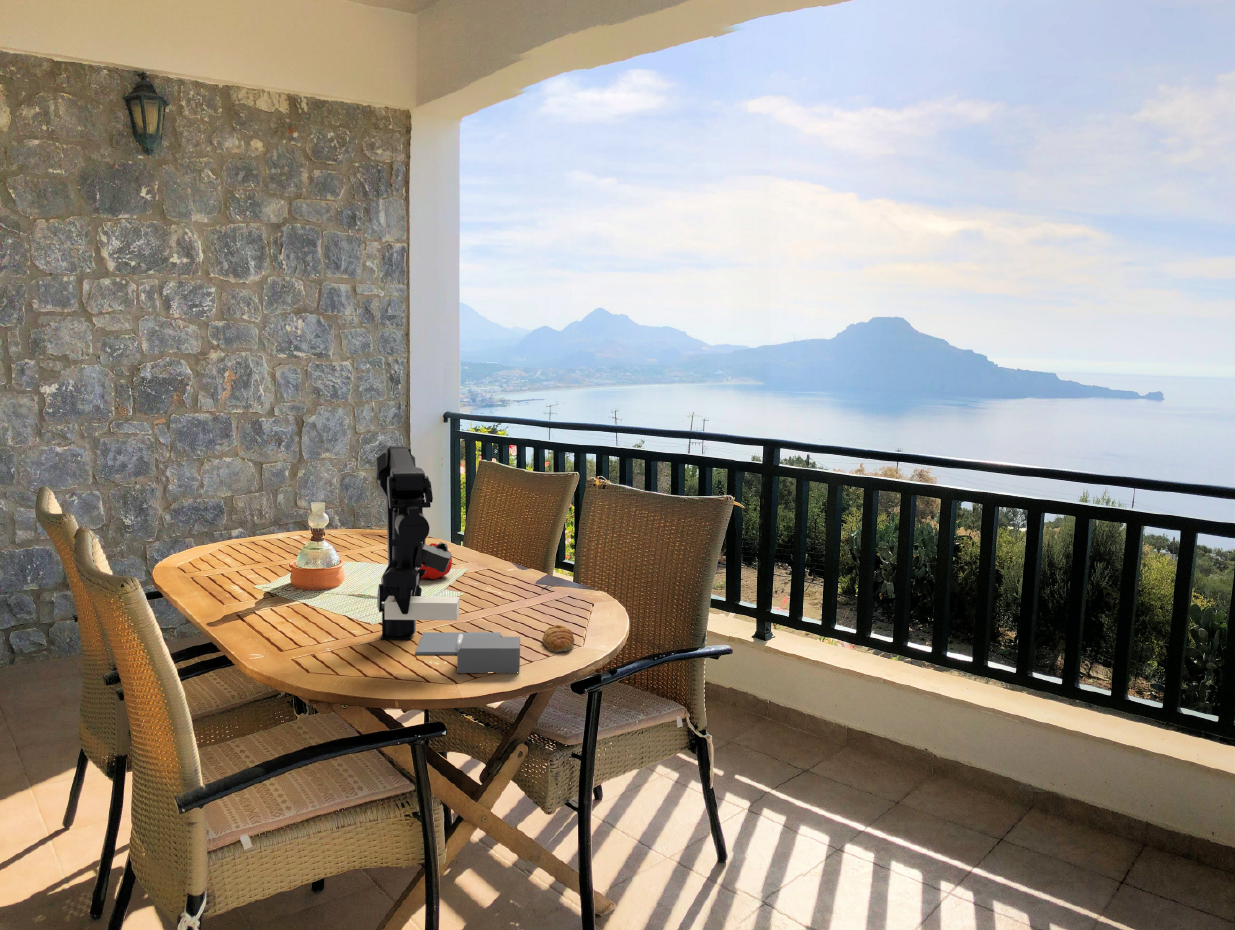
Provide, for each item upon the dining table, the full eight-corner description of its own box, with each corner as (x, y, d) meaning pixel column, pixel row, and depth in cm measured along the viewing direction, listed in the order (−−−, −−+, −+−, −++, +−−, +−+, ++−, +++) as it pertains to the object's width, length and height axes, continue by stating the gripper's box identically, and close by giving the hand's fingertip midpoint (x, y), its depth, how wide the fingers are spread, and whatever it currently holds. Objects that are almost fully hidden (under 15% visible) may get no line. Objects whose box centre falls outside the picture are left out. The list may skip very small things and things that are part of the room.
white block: (384, 619, 168) (384, 601, 168) (388, 612, 173) (388, 595, 172) (456, 620, 169) (456, 602, 169) (459, 613, 174) (459, 596, 173)
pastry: (578, 653, 181) (578, 636, 181) (546, 655, 180) (546, 637, 179) (570, 639, 190) (571, 623, 190) (540, 641, 189) (540, 624, 189)
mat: (415, 654, 177) (415, 651, 177) (423, 634, 190) (423, 632, 190) (498, 654, 179) (498, 651, 178) (500, 635, 191) (500, 632, 191)
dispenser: (454, 673, 167) (454, 646, 166) (458, 660, 174) (458, 633, 173) (519, 673, 168) (519, 646, 167) (519, 660, 175) (520, 633, 175)
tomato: (444, 583, 235) (444, 550, 234) (402, 580, 237) (403, 547, 236) (457, 574, 245) (458, 543, 244) (417, 571, 247) (417, 540, 246)
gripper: (443, 544, 160) (442, 625, 162) (454, 525, 179) (453, 597, 181) (382, 543, 159) (382, 624, 161) (399, 524, 178) (399, 597, 180)
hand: (407, 610), depth 171 cm, fingers closed on white block, 4 cm apart
